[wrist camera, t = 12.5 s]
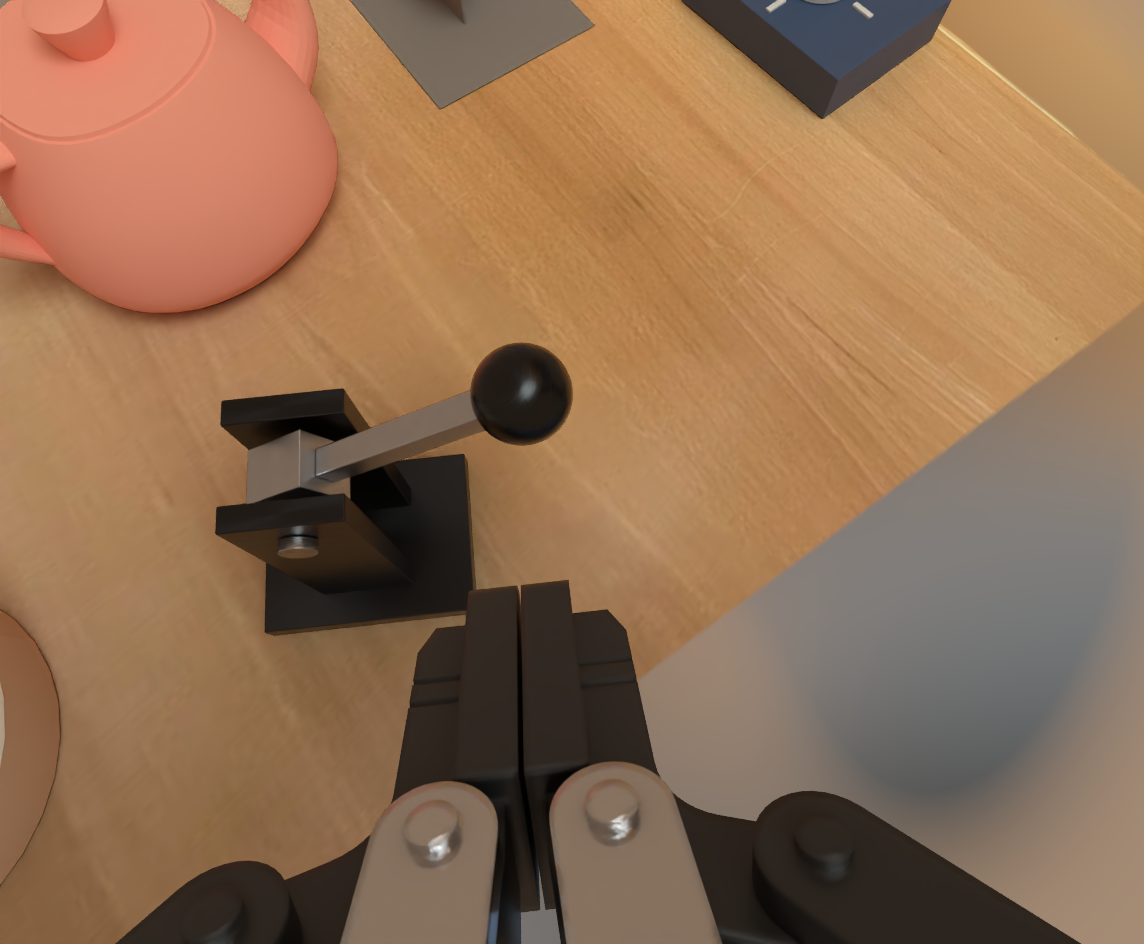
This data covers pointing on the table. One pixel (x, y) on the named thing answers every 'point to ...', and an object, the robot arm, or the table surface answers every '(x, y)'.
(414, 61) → the platform
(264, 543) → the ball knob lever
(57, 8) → the teapot
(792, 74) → the rotary dial base
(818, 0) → the tap knob
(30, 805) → the bowl
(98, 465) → the table surface
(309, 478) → the lever handle
